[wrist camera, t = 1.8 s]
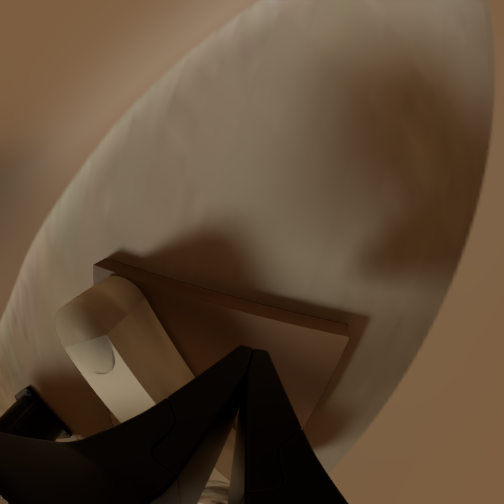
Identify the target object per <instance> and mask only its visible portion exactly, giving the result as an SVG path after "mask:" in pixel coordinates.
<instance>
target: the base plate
mask: <svg viewBox="0 0 504 504" xmlns="http://www.w3.org/2000/svg"><path fill="white" fill-rule="evenodd" d="M93 276H94V285H95V284H97V283H98V282H100V281H101V280H103V279H104V278H106V277H109V276H119V277H123V278H125V279H127V280H129V281H131V282H132V283H133V284H134V285H136V286H137V287H138V288H139V289H140V291H141V292H142V293H143V295H144V296H145V298H146V300H147V301H148V303H149V305H150V307H151V308H152V310H153V312H154V313H155V315H156V317H157V319H158V320H159V322H160V324H161V325H162V327H163V329H164V330H165V332H166V333H167V335H168V337H169V338H170V340H171V341H172V343H173V345H174V346H175V348H176V349H177V351H178V352H179V354H180V355H181V357H182V358H183V360H184V361H185V363H186V364H187V366H188V367H189V369H190V370H191V372H192V373H193V375H194V376H195V377H197V376H198V375H200V374H201V373H202V372H204V371H205V370H207V369H208V368H209V367H211V366H212V365H214V364H215V363H216V362H218V361H219V360H220V359H222V358H223V357H224V356H226V355H227V354H228V353H230V352H231V351H233V350H234V349H235V348H236V347H238V346H239V345H244V346H248V347H252V348H253V350H254V349H255V348H257V349H262V350H267V351H268V352H269V355H270V357H271V359H272V362H273V364H274V366H275V368H276V371H277V373H278V375H279V378H280V380H281V382H282V384H283V387H284V389H285V391H286V393H287V396H288V398H289V400H290V402H291V405H292V407H293V409H294V411H295V414H296V416H297V418H298V420H299V422H300V425H301V427H302V430H303V428H304V426H305V425H306V423H307V421H308V420H309V418H310V416H311V414H312V412H313V411H314V409H315V407H316V405H317V403H318V401H319V400H320V398H321V396H322V394H323V392H324V390H325V388H326V386H327V384H328V382H329V380H330V378H331V376H332V374H333V372H334V370H335V368H336V366H337V364H338V362H339V360H340V358H341V356H342V354H343V352H344V349H345V347H346V345H347V343H348V341H349V338H350V335H349V331H348V327H347V324H342V323H338V322H333V321H329V320H324V319H320V318H316V317H311V316H307V315H303V314H299V313H294V312H290V311H286V310H282V309H278V308H274V307H270V306H266V305H262V304H259V303H255V302H251V301H247V300H243V299H240V298H236V297H232V296H229V295H225V294H221V293H218V292H214V291H211V290H207V289H203V288H200V287H197V286H193V285H190V284H186V283H183V282H179V281H176V280H173V279H169V278H166V277H163V276H160V275H156V274H153V273H150V272H147V271H143V270H140V269H137V268H134V267H131V266H128V265H125V264H122V263H119V262H116V261H113V260H109V259H107V258H105V259H103V260H101V261H99V262H98V263H96V264H94V265H93ZM109 412H110V417H111V421H112V425H113V426H115V425H118V424H120V423H121V422H120V421H119V420H118V419H117V418H116V417H115V415H114V414H113V413H112V412H111V411H110V410H109ZM238 413H239V411H238ZM237 419H238V415H237V417H236V420H235V422H234V425H233V429H234V430H235V431H236V427H237Z"/></svg>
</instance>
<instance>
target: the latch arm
mask: <svg viewBox="0 0 504 504" xmlns="http://www.w3.org/2000/svg"><path fill="white" fill-rule="evenodd" d="M55 327H56V332H57V335H58V337H59V340H60V342H61V344H62V345H63V347H64V349H65V350H66V352H67V353H68V355H69V356H70V358H71V359H72V361H73V362H74V364H75V365H76V367H77V368H78V369H79V371H80V372H81V374H82V375H83V376H84V378H85V379H86V380H87V382H88V383H89V384H90V386H91V387H92V388H93V390H94V391H95V392H96V394H97V395H98V396H99V397H100V399H101V400H102V401H103V402H104V404H105V405H106V406H107V407H108V408H109V410H110V411H111V412H112V413H113V414H114V415H115V417H116V418H117V419H118V420H119V421H120V422H121V423H122V422H124V421H126V420H129V419H131V418H133V417H135V416H137V415H139V414H140V413H142V412H144V411H146V410H147V409H149V408H151V407H152V406H154V405H156V404H157V403H159V402H160V401H162V400H163V399H165V398H168V396H169V395H171V394H172V393H174V392H175V391H177V390H178V389H180V388H181V387H183V386H184V385H185V384H187V383H188V382H190V381H191V380H193V379H194V378H195V376H194V375H193V373H192V372H191V370H190V369H189V367H188V366H187V364H186V363H185V361H184V360H183V358H182V357H181V355H180V354H179V352H178V351H177V349H176V348H175V346H174V345H173V343H172V341H171V340H170V338H169V337H168V335H167V333H166V332H165V330H164V329H163V327H162V325H161V324H160V322H159V320H158V319H157V317H156V315H155V313H154V312H153V310H152V308H151V307H150V305H149V303H148V301H147V300H146V298H145V296H144V295H143V293H142V292H141V291H140V289H139V288H138V287H137V286H136V285H134V284H133V283H132V282H131V281H129V280H127V279H125V278H123V277H119V276H109V277H106V278H104V279H103V280H101V281H100V282H98V283H97V284H95V285H94V286H92V287H91V288H89V289H88V290H86V291H85V292H83V293H82V294H80V295H79V296H77V297H76V298H74V299H73V300H71V301H70V302H69V303H67V304H66V305H64V306H63V307H61V308H60V309H59V310H58V311H57V313H56V316H55ZM235 436H236V431H235V430H234V429H233V427H232V429H231V432H230V434H229V436H228V438H227V441H226V443H225V445H224V447H223V450H222V452H221V454H220V456H219V458H218V461H217V463H216V465H215V467H214V469H213V471H212V473H211V476H210V478H209V480H208V482H207V484H206V486H205V488H204V489H214V490H220V491H224V492H228V493H229V488H230V479H231V471H232V462H233V453H234V444H235Z"/></svg>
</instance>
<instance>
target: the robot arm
mask: <svg viewBox="0 0 504 504" xmlns="http://www.w3.org/2000/svg"><path fill="white" fill-rule="evenodd" d="M15 399H16V400H17V401H16V402H15V403H14V404H13V405H12V406H11V407H10V408H9V409H8V410H7V411H6V412H5V413H4V414H3V415H2V416H1V417H0V504H197V503H198V501H199V498H200V496H201V494H202V492H203V490H204V488H205V486H206V484H207V482H208V480H209V478H210V476H211V473H212V471H213V469H214V467H215V465H216V463H217V461H218V458H219V456H220V454H221V452H222V450H223V447H224V445H225V443H226V441H227V438H228V436H229V434H230V432H231V429H232V427H233V425H234V422H235V420H236V417H237V415H238V419H237V427H236V436H235V444H234V453H233V462H232V471H231V479H230V488H229V497H228V504H348V503H347V501H346V500H345V498H344V497H343V496H342V494H341V493H340V491H339V490H338V488H337V487H336V486H335V484H334V483H333V481H332V480H331V478H330V477H329V475H328V474H327V472H326V471H325V470H324V468H323V466H322V465H321V463H320V462H319V460H318V458H317V457H316V455H315V453H314V451H313V449H312V448H311V446H310V444H309V442H308V440H307V437H306V435H305V433H304V431H303V430H302V427H301V425H300V422H299V420H298V418H297V416H296V414H295V411H294V409H293V407H292V405H291V402H290V400H289V398H288V396H287V393H286V391H285V389H284V387H283V384H282V382H281V380H280V378H279V375H278V373H277V371H276V368H275V366H274V364H273V362H272V359H271V357H270V355H269V352H268V351H267V350H262V349H257V348H255V349H254V350H253V348H252V347H248V346H244V345H239V346H238V347H236V348H235V349H234V350H233V351H231V352H230V353H228V354H227V355H226V356H224V357H223V358H222V359H220V360H219V361H218V362H216V363H215V364H214V365H212V366H211V367H209V368H208V369H207V370H205V371H204V372H202V373H201V374H200V375H198V376H197V377H195V378H194V379H193V380H191V381H190V382H188V383H187V384H185V385H184V386H183V387H181V388H180V389H178V390H177V391H175V392H174V393H172V394H171V395H169V396H168V398H165V399H163V400H162V401H160V402H159V403H157V404H156V405H154V406H152V407H151V408H149V409H147V410H146V411H144V412H142V413H140V414H139V415H137V416H135V417H133V418H131V419H129V420H126V421H124V422H122V423H120V424H118V425H115V426H113V427H111V428H109V429H106V430H104V431H101V432H99V433H97V434H94V435H92V436H89V437H87V438H84V439H81V440H77V441H71V442H56V439H62V438H70V437H71V436H72V433H71V432H70V431H69V430H68V429H67V428H66V427H65V426H64V425H63V424H62V423H61V422H60V421H59V420H58V419H57V418H56V417H55V416H54V415H53V414H52V413H51V411H50V410H49V409H48V408H47V407H46V406H45V405H44V404H43V402H42V401H41V400H40V399H39V398H38V397H37V395H36V394H35V393H34V392H33V391H32V389H31V388H30V387H28V386H27V387H26V388H25V389H23V390H22V391H20V392H19V393H18V394H16V395H15ZM238 411H239V413H238Z"/></svg>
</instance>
